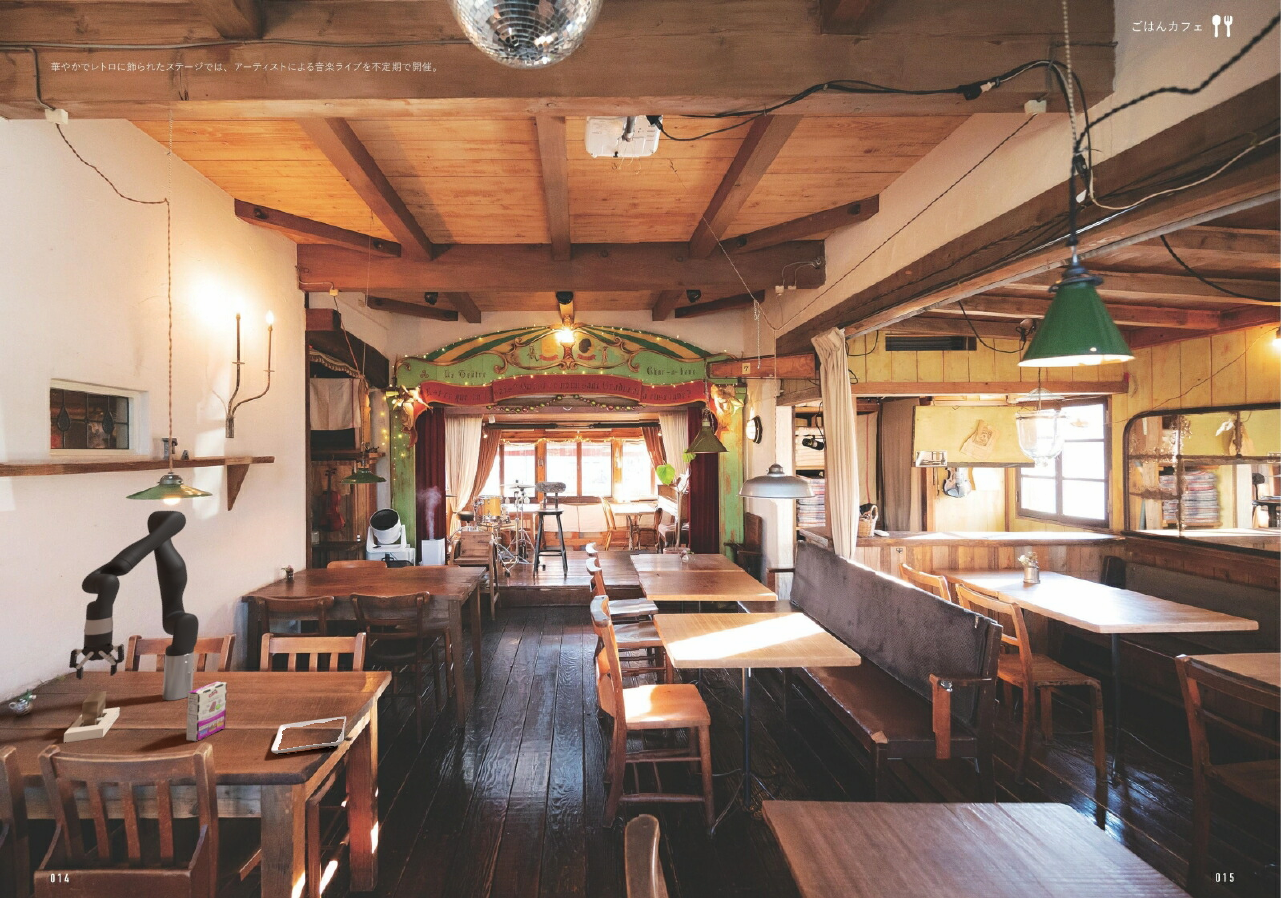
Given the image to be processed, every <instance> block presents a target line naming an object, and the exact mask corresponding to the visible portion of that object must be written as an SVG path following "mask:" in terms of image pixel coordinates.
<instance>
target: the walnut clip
mask: <svg viewBox="0 0 1281 898" xmlns="http://www.w3.org/2000/svg"><path fill="white" fill-rule="evenodd" d="M106 701H107V690H104V691H96V692H95V691H94V692H91V693H90V694H89V695H88V696H87V698H85V700H84V701H83V702H82V708H81V714H82V720H84V724H83V727H85V726H92V725H97V718H101V717H103V710H104V709H106Z"/></svg>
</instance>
